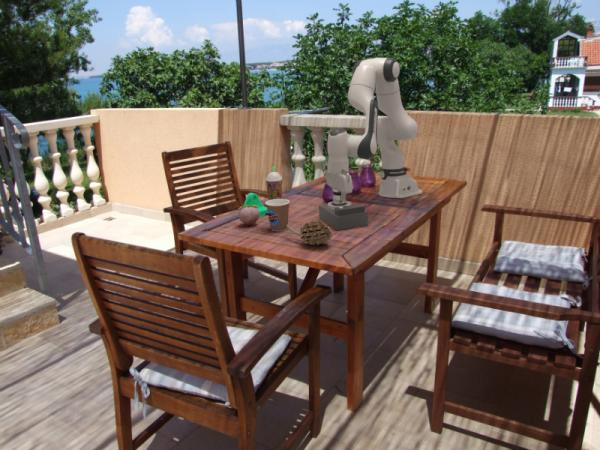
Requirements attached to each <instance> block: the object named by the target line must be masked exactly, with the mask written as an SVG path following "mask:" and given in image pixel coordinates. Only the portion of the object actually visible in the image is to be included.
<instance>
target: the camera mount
mask: <svg viewBox="0 0 600 450" xmlns="http://www.w3.org/2000/svg"><path fill="white" fill-rule="evenodd" d="M247 203H248V204H247ZM247 205H257V206H258V207H259V208H258V207H256V208H257V209H258V211H259V218H260V217H264V216H266V214H268V212H267V206H265V205H264V204H263V203H262V201H261V200H260V197H259V195H258V194H257V193H254V192H249V193H247V196H246V198H245V201H244V203H243V205H242V206H247Z"/></svg>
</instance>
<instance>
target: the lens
mask: <svg viewBox="0 0 600 450" xmlns="http://www.w3.org/2000/svg"><path fill="white" fill-rule="evenodd" d="M340 197H341V191H339V190H337V189H336V188H333V190H332V201H333V205H334V206H343V205H346V201H347V199H346V197H345V201H341V200H340Z"/></svg>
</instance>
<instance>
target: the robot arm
mask: <svg viewBox="0 0 600 450" xmlns="http://www.w3.org/2000/svg"><path fill="white" fill-rule="evenodd" d="M400 73H401V67H400V62H399V61H398V60H397V58H394V57H374V58H367V59H360V60H357V61H356V62H355V64H354V65H353V68H352V78H351V79H350V84H349V88H348V92H347V99H348V103H349V104H350V105H351V106H352V107H353V108H354V109H356V110H357V111H359V112H362V113H363V114H364V115H365V128H364V133H363V134H362V135H358V134H357V135H354V134H350V133H348V132H347V130H346V129H344V128H337V129H333V130H331V131H329V132H328V136H327V153H328V154H327V155H328V158H327V159H328V160H327V163H326V164H324V170H325V171H324V172H325V173H324V175H325V181H326V185H327V186H330V187H331V190H332V191H333V188H336V189H337V190H339V191H341V197H340V200H341V201H345V198H346V195H347V194H352V193H353V190H354V189H353V181H352V180H353V179H352V176H351V174H349V171H350V163H349V158H356V159H362V160H366V161H368V160H371V159H372V158H373V157H374V156H375V155H376V154H377V150H378V148H379V151H380V156H381V167H380V186H379V190H378V195H379V196H380V197H383V198H393V199H394V198H396V199H404V198H409V197H413V196H417V195H422V194H423V190H422V189H420V188H419V184H418V182H417V180H416V179H415V178H413V177H412V176H410V175H409V174H408V173H410V172H411V168H410V167H406V166H404V165H405V163H404V162H405V158H404V157H405V154H404V151H403V149H402V148H400V147H399V146H398V145H397V143H396V142H395V141H404V142H405V141H410V140H413V139H415V138H416V137H417V134H418V131H419V125H418V123H417V121H416V120H415V119H413V118H412V117H411V116H410V115H409V114H408V113H407V111H406V110H405V108H404V106H403V103H402V98H401V92H400V90H401V89H400V84H399V83H400V82H399V79H398V78H399V77H400ZM375 91H376V92H375ZM374 93H376V100H375V99H374V98H375V97H374ZM379 111H381V112H382V113H383V114H385V115H386V117H384V116H382V117H379Z"/></svg>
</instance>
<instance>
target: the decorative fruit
mask: <svg viewBox="0 0 600 450" xmlns="http://www.w3.org/2000/svg"><path fill="white" fill-rule="evenodd" d="M247 204H248V203H247ZM256 207H258V206H257V205H247V206H243V205H241V206H239V207H238V209H237V211H238V218H239V221H240V222H241V223H243V224H244V225H248V226H251V225H253V224H255V223H256V222H258V220H259V218H260V217H259V211H258V209H257V208H256ZM258 208H259V207H258Z"/></svg>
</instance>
